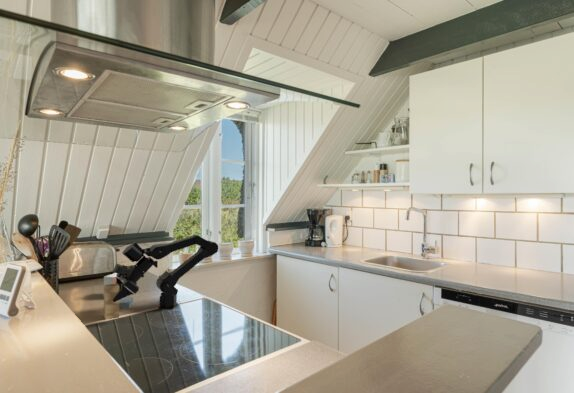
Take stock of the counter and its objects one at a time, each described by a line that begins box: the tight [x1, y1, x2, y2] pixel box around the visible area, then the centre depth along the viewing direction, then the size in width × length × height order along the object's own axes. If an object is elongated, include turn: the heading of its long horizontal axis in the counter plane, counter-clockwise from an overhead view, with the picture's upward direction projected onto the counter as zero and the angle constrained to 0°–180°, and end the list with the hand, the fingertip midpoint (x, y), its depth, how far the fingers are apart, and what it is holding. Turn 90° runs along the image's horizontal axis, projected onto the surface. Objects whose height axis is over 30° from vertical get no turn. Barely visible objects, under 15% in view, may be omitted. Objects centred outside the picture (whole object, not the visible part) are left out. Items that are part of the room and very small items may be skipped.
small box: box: [103, 272, 118, 286], centre depth 170 cm, size 8×6×10 cm
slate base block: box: [119, 296, 134, 310], centre depth 157 cm, size 8×8×3 cm
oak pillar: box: [103, 283, 120, 320], centre depth 144 cm, size 5×5×13 cm
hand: (111, 298), depth 143 cm, fingers open, 9 cm apart
